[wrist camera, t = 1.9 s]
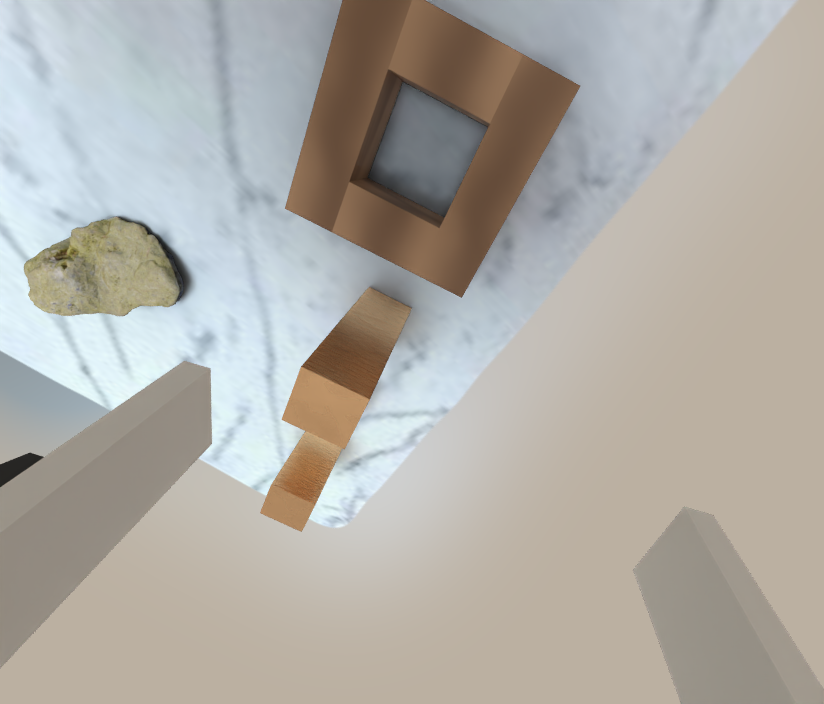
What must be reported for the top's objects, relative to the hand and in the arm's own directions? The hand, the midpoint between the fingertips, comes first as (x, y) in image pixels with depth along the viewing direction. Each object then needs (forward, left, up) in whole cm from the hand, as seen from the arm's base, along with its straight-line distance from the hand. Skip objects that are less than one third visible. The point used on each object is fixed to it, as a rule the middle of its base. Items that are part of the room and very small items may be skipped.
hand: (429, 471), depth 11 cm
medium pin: (-4, -23, -23) cm, 33 cm away
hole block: (-6, +6, -23) cm, 24 cm away
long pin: (-4, -7, -23) cm, 24 cm away
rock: (-27, -14, -23) cm, 38 cm away
